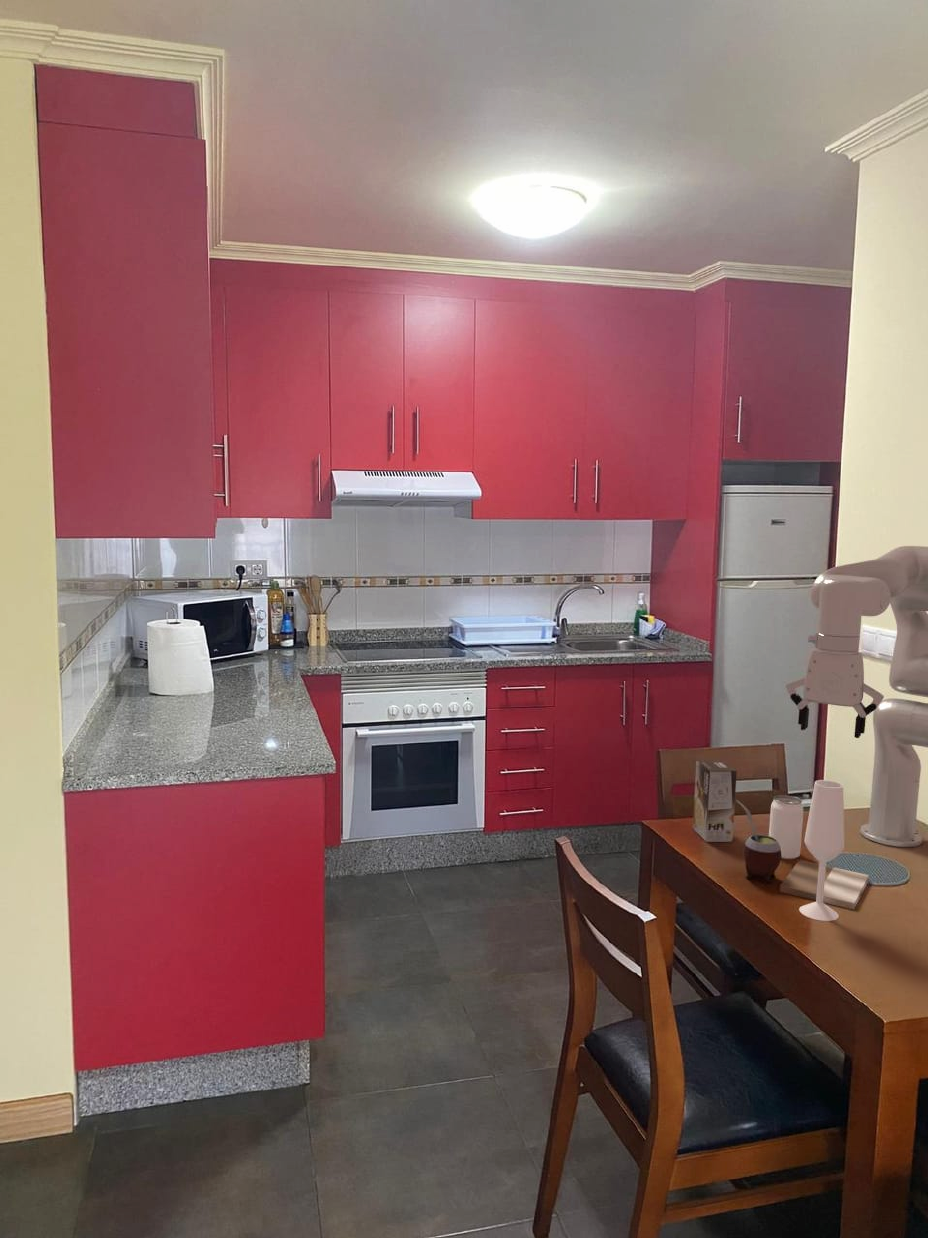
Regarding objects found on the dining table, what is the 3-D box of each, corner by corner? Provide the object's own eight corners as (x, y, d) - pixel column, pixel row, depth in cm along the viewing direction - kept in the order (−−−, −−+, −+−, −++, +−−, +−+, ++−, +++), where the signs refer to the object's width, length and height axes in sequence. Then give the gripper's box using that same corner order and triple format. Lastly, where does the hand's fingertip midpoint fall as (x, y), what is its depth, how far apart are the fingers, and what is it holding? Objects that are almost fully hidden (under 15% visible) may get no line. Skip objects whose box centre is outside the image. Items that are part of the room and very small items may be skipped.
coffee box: (733, 842, 198) (738, 771, 196) (705, 842, 197) (710, 771, 195) (717, 827, 207) (722, 759, 205) (690, 828, 206) (695, 759, 204)
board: (799, 865, 186) (799, 859, 186) (868, 881, 179) (869, 875, 179) (779, 891, 172) (780, 885, 172) (853, 909, 165) (854, 903, 165)
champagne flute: (845, 914, 163) (856, 785, 160) (826, 924, 159) (837, 792, 156) (811, 901, 168) (821, 776, 165) (791, 910, 164) (801, 782, 161)
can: (794, 862, 187) (798, 806, 186) (763, 854, 191) (767, 799, 190) (803, 853, 192) (808, 799, 191) (773, 846, 196) (777, 792, 195)
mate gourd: (786, 884, 176) (791, 809, 174) (749, 886, 174) (754, 811, 173) (765, 869, 183) (770, 797, 182) (730, 871, 182) (735, 799, 180)
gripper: (785, 641, 172) (779, 729, 174) (884, 651, 163) (876, 744, 165) (794, 637, 178) (788, 722, 180) (890, 646, 169) (882, 736, 171)
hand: (830, 732), depth 172 cm, fingers open, 9 cm apart
